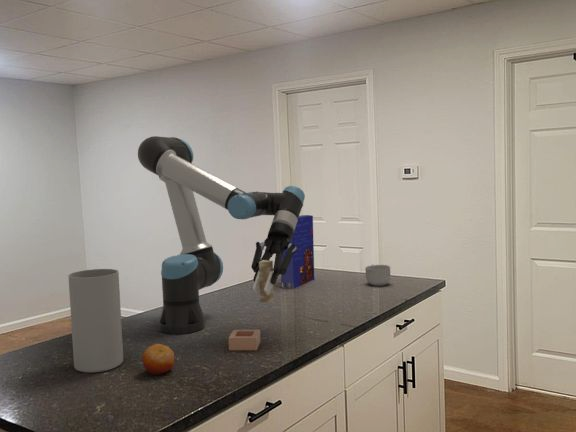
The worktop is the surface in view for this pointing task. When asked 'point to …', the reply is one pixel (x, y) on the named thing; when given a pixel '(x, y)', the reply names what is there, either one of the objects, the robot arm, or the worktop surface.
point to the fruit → (158, 359)
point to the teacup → (378, 274)
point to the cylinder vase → (96, 320)
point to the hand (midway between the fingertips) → (260, 291)
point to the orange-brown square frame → (244, 340)
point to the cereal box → (300, 255)
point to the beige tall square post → (265, 280)
